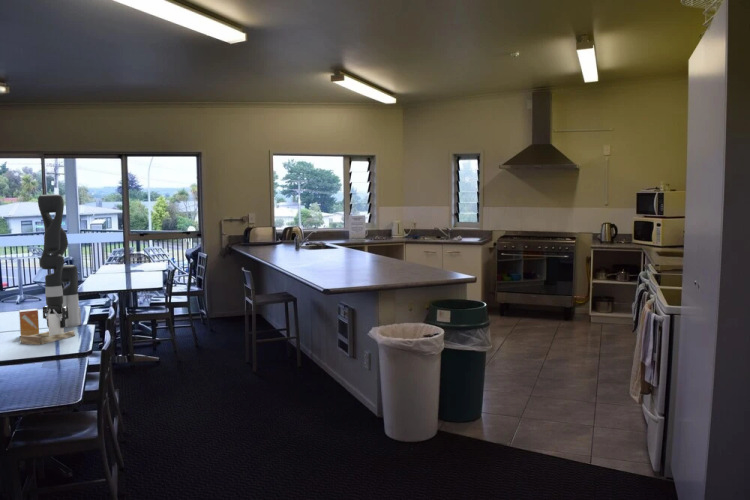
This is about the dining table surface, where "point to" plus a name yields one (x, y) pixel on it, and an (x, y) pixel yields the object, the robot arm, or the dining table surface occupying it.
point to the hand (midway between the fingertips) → (56, 327)
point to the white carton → (54, 325)
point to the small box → (29, 322)
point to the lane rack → (44, 337)
